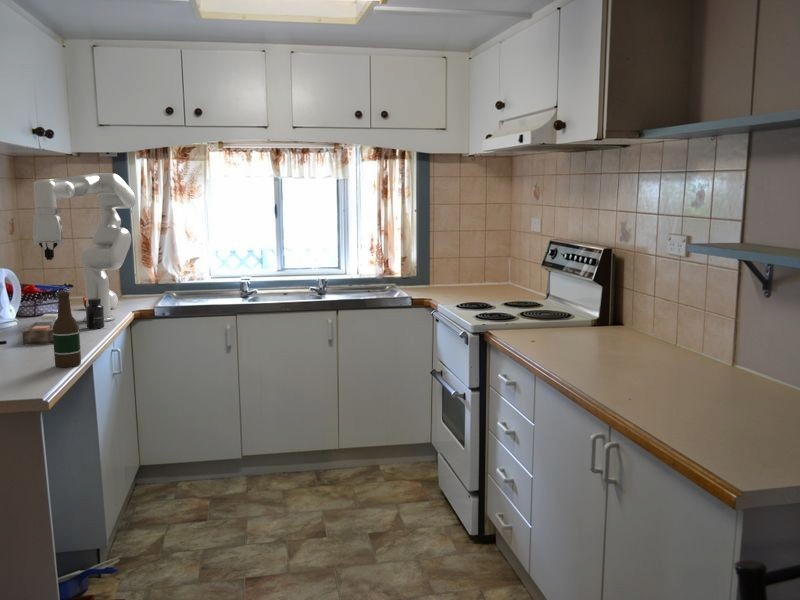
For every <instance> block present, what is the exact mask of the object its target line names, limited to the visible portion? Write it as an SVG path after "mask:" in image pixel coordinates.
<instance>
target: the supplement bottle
mask: <svg viewBox="0 0 800 600" xmlns="http://www.w3.org/2000/svg"><path fill="white" fill-rule="evenodd" d="M100 303H101V299H99V298H93V299H88V304H89V305H88V306H87V307H86V308H85V317H86V321H85V323H86V328H87V329H88V328H89V330H98V329H99V330H100V329H103V328H105V321H104V307H103V306H102V305H100Z"/></svg>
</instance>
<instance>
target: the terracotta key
mask: <svg viewBox="0 0 800 600" xmlns="http://www.w3.org/2000/svg"><path fill="white" fill-rule="evenodd" d="M49 329H50V325H47V326H35V327H33V328H32V331H37V330H49Z"/></svg>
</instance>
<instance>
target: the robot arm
mask: <svg viewBox="0 0 800 600" xmlns="http://www.w3.org/2000/svg"><path fill="white" fill-rule="evenodd" d="M33 194H34V195H33V196H34V207H35V209H34V210H35V215H34V216H33V223H32V238H33V245H35V246H39V247H40V248H42V249H43V250H44V251H43V252H44V258H46V260H47V261H52V260H54V258H55V251H54V250H55V249H56V248H57V246H61V245H64V242H65V241H64V230H63V223H62V219H61V217H60V216H61V215H59V214H61V213H62V209H59V208H58V206H57V200H68V199H71V198H72V197H73V198H74V197H86V196H91V195H96V194H97V197H96V200H97V205H98V207H99V210H100V216H101V217H100V221H99V223H98V226H97V228H96V230H95V232H94V234H93V238H92V243H93V244H94V246H95V247H87V248H85V249H84V250H83V251H82V252H81V255H80V261H81V265H82V269H83V276H84V285H85V286H84V287H85V289H84V290H85V297H86V305H87V306H88V305H89V304H88V299H93V298H99V299H101V303H100V305H102V306H103V307H104V322H109V321H112V320H115V319H116V318H115V317H116V316H115V315H113V314H111V311H112V310H111V309H110V293H109V290H110V279H109V276H108V274H107V273H106V271H116V270H119V269H120V268H121V267H122V266H123V264H124V262H125V260H126V257H127V255H128V252H129V250H130V246H131V243H132V235H131V232H130V231H129V230H128V229H126V227H121V225H122V219H121V217H120V215H119V213H118V212H117V210H116V209H122V210H123V209H125V210H126V209H132V208H133V207H134V206H135V205H136V202H137V198H136V194H135V193H134V191H133V189H132V188H131V187H130V186H129V185H128V184H127V183H126V181H125V180H124V179H123V178H122V177H121V176H120V175H118V174H116V173H113V172H112V173H109V172H108V173H107V172H105V173H104V172H100V173H99V172H98V173H97V172H96V173H88V174H81V175H75V176H66V177H57V178H49V179H42V180H39V179H38V180H35V181H34V182H33ZM48 243H49V245H48ZM83 322H86V316H84V317H83Z"/></svg>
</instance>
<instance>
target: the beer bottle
mask: <svg viewBox="0 0 800 600" xmlns="http://www.w3.org/2000/svg"><path fill="white" fill-rule="evenodd" d="M70 295H71V293H70V292H69V291H66V290H65V291H59V292H57V294H56V296H57V303H58V304H57V314H58V318H57V319H56V321H55V323H54V326H53V355H54V357H53V358H54V365H55V367H56V368H58V367H61V368H60V369H66V368H65V367H72V368H75V367H79V366H80V365H81V364H82V355H81V354H82V353H81V339H80V327H79V324H78V321H77V320H76V318H75V317H74V316H73V314H72V310H71V309H72V307H71V300H70ZM62 367H63V368H62Z"/></svg>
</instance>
